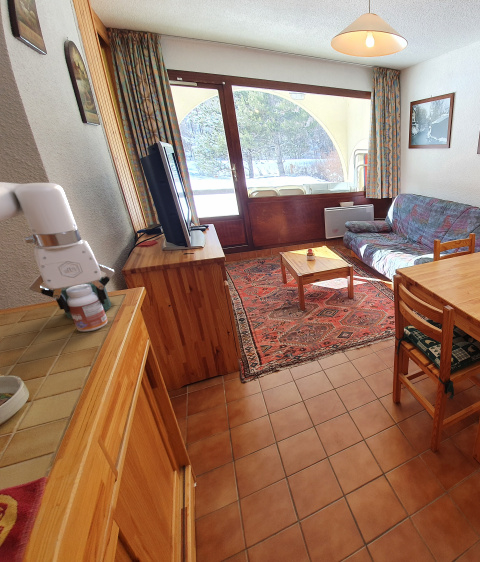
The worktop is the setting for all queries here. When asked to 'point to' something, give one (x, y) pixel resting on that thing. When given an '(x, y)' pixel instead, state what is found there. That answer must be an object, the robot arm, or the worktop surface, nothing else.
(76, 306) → the pill bottle
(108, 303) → the pot
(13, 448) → the worktop surface
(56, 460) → the worktop surface
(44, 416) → the worktop surface
